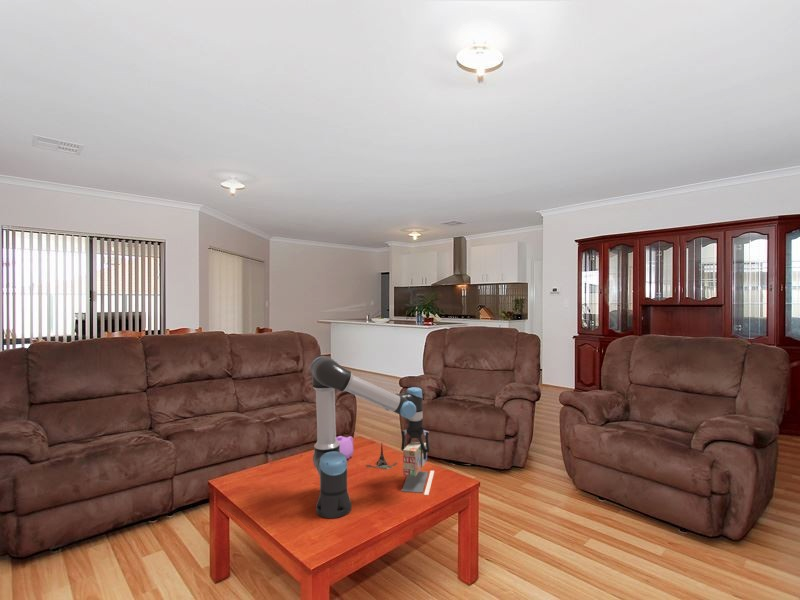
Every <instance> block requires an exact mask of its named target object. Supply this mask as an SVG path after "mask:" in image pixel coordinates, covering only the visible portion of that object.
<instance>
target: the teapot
mask: <svg viewBox="0 0 800 600" xmlns="http://www.w3.org/2000/svg"><path fill="white" fill-rule="evenodd" d="M336 440H337V441H338V442H339V444H340V453H343V454H344V455H345V456H346V459H347V460H349V459H351V457H352V456H353V454H354V438H353V436H351V435H349V436H347V437H346V436H342V435H339V436H336Z"/></svg>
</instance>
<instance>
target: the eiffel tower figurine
mask: <svg viewBox="0 0 800 600" xmlns="http://www.w3.org/2000/svg"><path fill="white" fill-rule="evenodd" d="M380 447H381V448H380V455H379V458H378V460H377V461H376V462H375V465H376V466H374V465H371V464H366V467H367V468H368V467H369V468H373V469H374V468H377V469H381V470H382V469H383V470H390V469H392V468H393V467H395V466H396V465H397V462H395V463H393V464H391V465H389V464H388V463H387V461H386V459H385V455H384V449H383V442H381V446H380Z"/></svg>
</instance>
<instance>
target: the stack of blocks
mask: <svg viewBox="0 0 800 600" xmlns="http://www.w3.org/2000/svg"><path fill="white" fill-rule="evenodd" d="M423 443H424V445H425V448H426V442H423ZM426 449H427V448H426ZM422 451H423V450H422V447H421V444H420V442H418V441H411V442H410V444H408V445H407V444H406V445H405V448H404V449H403V451H402V454H403V456H402V464H403V466H402V468H403V469H402V474H403V476H416V475H417V474H418V472H419V471H422V470H421V469H423V467H424V466H422ZM427 461H428V452H426V459H424V465H425V464H426V463H427Z"/></svg>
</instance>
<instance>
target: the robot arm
mask: <svg viewBox="0 0 800 600" xmlns="http://www.w3.org/2000/svg"><path fill="white" fill-rule="evenodd" d="M309 370H310V371H309V372H310V374H311V378H312V379H311V383H312V384H311V386H312V388H313V389H314V390H315V402H316V403H315V407H316V408H315V409H316V432H317V433H316V437H317V439H316V443H314V445H313V446H314V448H313V449H314V452H313V456H312V463H313V465H314V467H315V469H316V472H317V473H318V475H319V497H318V499H317V501H316V502H317V503H316V506H315V511H316V512H315V513H316V514H317V515H318V516H319V517H322V518H324V519H337V518H342V517H344V516H346V515H348V514H349V513H351V510H352V500H351V498H350V496H349V493H348V459H346V456H345V455H344V454H343V453H340V444H339V442H338V441H337V440H336V438H337V428H336V427H337V425H336V397H335V396H336V395H335V394H336V391H339V392H341V393H343V392H348V393H350V394H351V395H354V396H356V397H359V398H361V399H364V400H366V401H368V402H370V403H373V404H374V405H377V406H379V407H382V408H384V409H385V410H386V411H391V412H393V413H395V414H397V415H399V416H401V417H403V418H405V419H407V428H406V429H402V431H401V436H402V437H401V448H400V451H402V452H403V449H404V448H405V447H406V446H407V445H408V444H410V442H412V439H418V441H419V442H420V444H421V447H422V450H423V451H422V466H423V467H424V466H425V464H424V459H426V452H427V453H429V452H430V450H431V449H430V439H429V433H430V431H429V430H425V429H424V428H423V427H424V423H423V421H424V420H423V418H424V417H423V415H424V414H423V389H422V388H420V387H414V386H413V387H408V388H407V390H406V392H404V393H393V392H392V391H389V390H386V389H385V388H383V387H380V386H379V385H376V384H374V383H372V382H369V381H367V380H364V378H363V379H362V378H361V377H358V376H355V374H353V372H352V371H351V370H348V369H347V368H345V367H343V366H342V365H341V364H339V363H338V362H337V361H335V360H334V359H333V358H331V357H329V356H326V355H325V356H324V355H323V356H319V357H316V358H315V359H314V360H313V361H312V362H311V365H310V368H309ZM335 390H336V391H335ZM407 434H408V435H409V437H408V440H407V442H406V435H407ZM422 435H424V436H425V437H424V438H425V439H424V440H425V442H424V440H423V436H422ZM406 443H407V444H406ZM424 443H426V448H427V449H426V448H425V445H424ZM405 444H406V445H405Z"/></svg>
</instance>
